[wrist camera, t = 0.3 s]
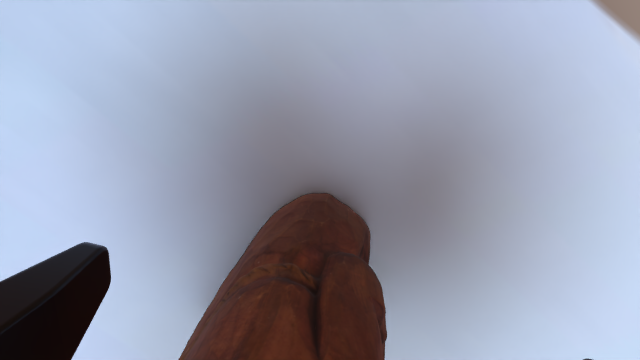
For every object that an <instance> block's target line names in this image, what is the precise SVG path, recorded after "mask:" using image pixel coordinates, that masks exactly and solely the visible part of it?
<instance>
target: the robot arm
mask: <svg viewBox="0 0 640 360" xmlns="http://www.w3.org/2000/svg"><path fill="white" fill-rule="evenodd" d="M110 282H111V273H110V262H109V253H108V250H107V248H106V247H104V246H101V245H97V244H93V243H88V242H84V243H80V244H78V245H76V246H74V247H72V248H70V249H68V250H65V251H63V252H61V253H59V254H57V255H55V256H53V257H51V258H49V259H47V260H45V261H42V262H40V263H38V264H36V265H34V266H32V267H30V268H28V269H26V270H24V271H21V272H19V273H17V274H15V275H13V276H11V277H9V278H7V279H5V280H3V281H1V282H0V360H71V359H72V357H73V355H74V353H75V352H76V350H77V348H78V346H79V344H80V342H81V340H82V338H83V336H84V334H85V333H86V331H87V329H88V327H89V325H90V323H91V321H92V319H93V317H94V315H95V314H96V312H97V310H98V308H99V306H100V304H101V302H102V300H103V298H104V297H105V295H106V293H107V291H108V288H109V286H110ZM583 360H592V359H583Z"/></svg>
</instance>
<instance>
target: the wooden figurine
mask: <svg viewBox="0 0 640 360" xmlns="http://www.w3.org/2000/svg"><path fill="white" fill-rule="evenodd" d="M369 255H370V231H369V228H368V226H367V225H366V224H365V222H364V220H363V219H362V218H361V217H360V216H359V215H358V214H356V213H355V212H354V211H353V210H352V209H351V208H350V207H348V206H347V205H345V204H343V203H341V202H340V201H338V200H337V199H335V198H334V197H333V196H332V195H330V194H327V193H320V194H318V193H313V194H307V195H303V196H301V197H299V198H297V199H295V200H294V201H292V202H290V203H289V204H287V205H285V206H284V207H282V208H281V209H280V210H278V211H277V212H276V213H275V214H274V215H272V216H271V218H270V219H269V220H268V221H267V222H266V223H265V225H264V226H263V227H262V228H261V229H260V231H259V232H258V233H257V235H256V236H255V238H254V239H253V240H252V242H251V243H250V245H249V246H248V248H247V249H246V251H245V253H244V254H243V255H242V257H241V258H240V260H239V261H238V263H237V264H236V266H235V267H234V268H233V269H232V271H231V272H230V273H229V275H228V276H227V278H226V279H225V281H224V282H223V284H222V285H221V287H220V288H219V290H218V292H217V294H216V295H215V297H214V299H213V301H212V302H211V304H210V305H209V307H208V308H207V310H206V312H205V313H204V315H203V317H202V319H201V320H200V322H199V323H198V325H197V327H196V329H195V331H194V333H193V334H192V336H191V338H190V339H189V341H188V343H187V345H186V347H185V349H184V351H183V353H182V355H181V356H180V358H179V360H384V359H385V341H386V338H387V331H386V321H385V313H386V311H385V304H384V299H383V292H382V287H381V284H380V282H379V280H378V278H377V276H376V274H375V273H374V271H373V270H372V269H371V267H370V266H369V265H368V264H369Z"/></svg>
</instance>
